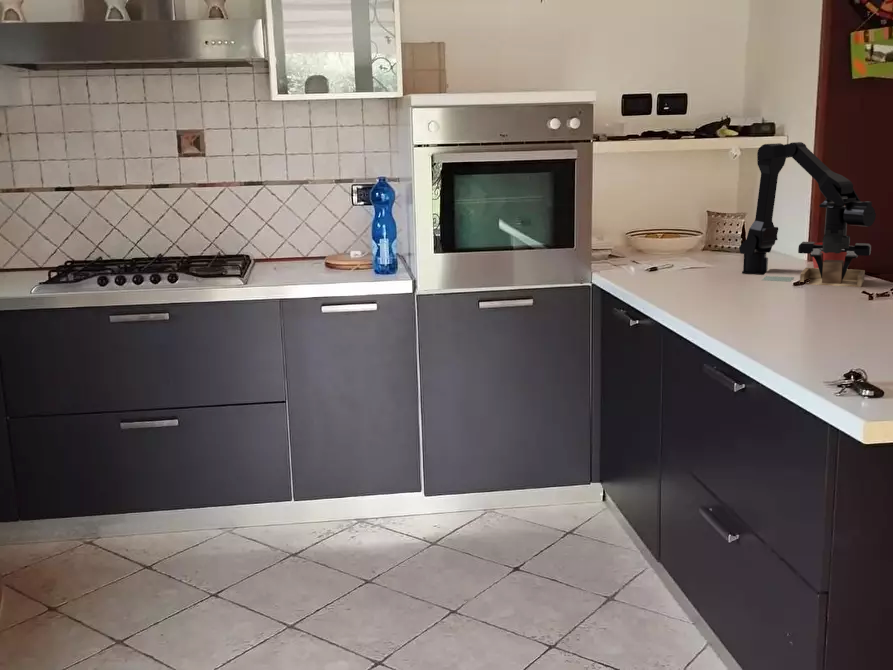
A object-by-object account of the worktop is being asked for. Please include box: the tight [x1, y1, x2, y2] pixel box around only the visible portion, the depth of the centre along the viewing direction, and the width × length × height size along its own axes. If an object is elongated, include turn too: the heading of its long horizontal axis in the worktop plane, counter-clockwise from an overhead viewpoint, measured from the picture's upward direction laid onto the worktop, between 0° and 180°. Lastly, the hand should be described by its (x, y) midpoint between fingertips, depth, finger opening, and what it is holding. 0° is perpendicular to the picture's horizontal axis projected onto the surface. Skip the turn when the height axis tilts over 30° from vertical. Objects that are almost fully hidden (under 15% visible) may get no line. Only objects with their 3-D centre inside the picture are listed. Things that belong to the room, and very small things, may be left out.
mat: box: [761, 275, 795, 283], centre depth 268 cm, size 8×8×1 cm
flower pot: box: [812, 242, 851, 268], centre depth 272 cm, size 11×11×10 cm
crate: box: [799, 267, 866, 288], centre depth 260 cm, size 16×12×4 cm
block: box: [822, 260, 844, 284], centre depth 259 cm, size 5×5×6 cm
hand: (832, 278), depth 260 cm, fingers closed on block, 5 cm apart
